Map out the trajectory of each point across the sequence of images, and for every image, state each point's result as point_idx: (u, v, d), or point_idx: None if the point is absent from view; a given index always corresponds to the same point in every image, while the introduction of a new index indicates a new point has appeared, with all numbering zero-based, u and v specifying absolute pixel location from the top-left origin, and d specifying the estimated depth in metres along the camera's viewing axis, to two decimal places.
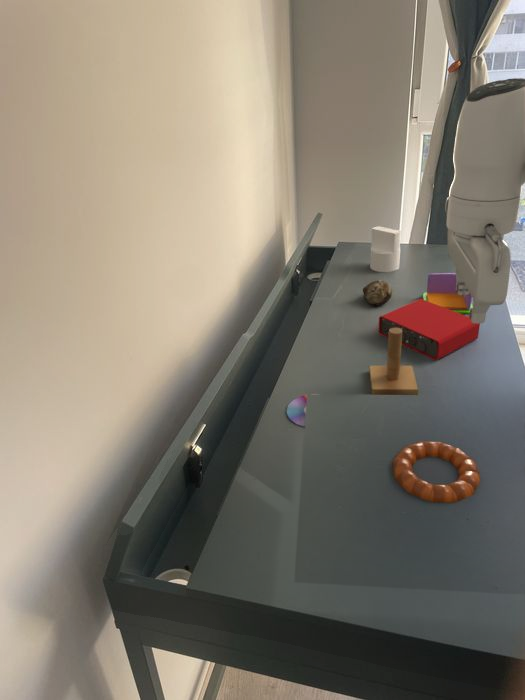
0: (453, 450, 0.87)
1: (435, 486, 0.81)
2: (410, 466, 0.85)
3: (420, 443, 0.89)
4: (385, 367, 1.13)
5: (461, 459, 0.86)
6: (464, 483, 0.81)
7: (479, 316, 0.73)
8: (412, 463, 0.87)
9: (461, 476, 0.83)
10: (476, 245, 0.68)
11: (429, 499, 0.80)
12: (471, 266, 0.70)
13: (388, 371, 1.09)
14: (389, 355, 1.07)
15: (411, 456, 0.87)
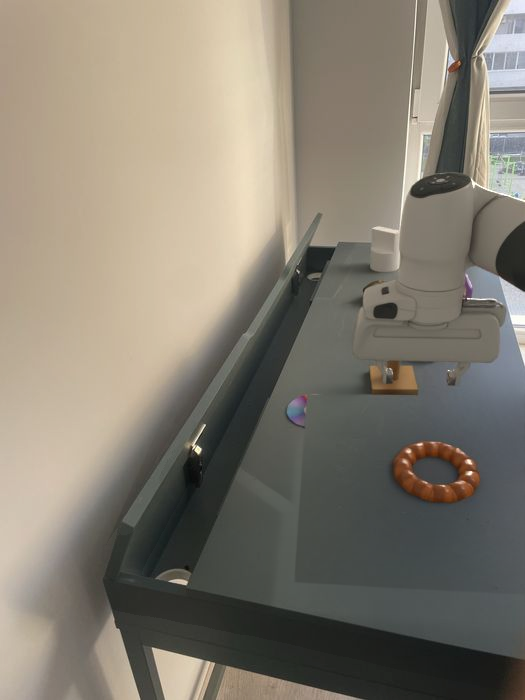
0: (453, 450, 0.87)
1: (435, 486, 0.81)
2: (410, 466, 0.85)
3: (420, 443, 0.89)
4: None
5: (461, 459, 0.86)
6: (464, 483, 0.81)
7: None
8: (412, 463, 0.87)
9: (461, 476, 0.83)
10: (475, 319, 0.71)
11: (429, 499, 0.80)
12: (463, 340, 0.73)
13: None
14: None
15: (411, 456, 0.87)
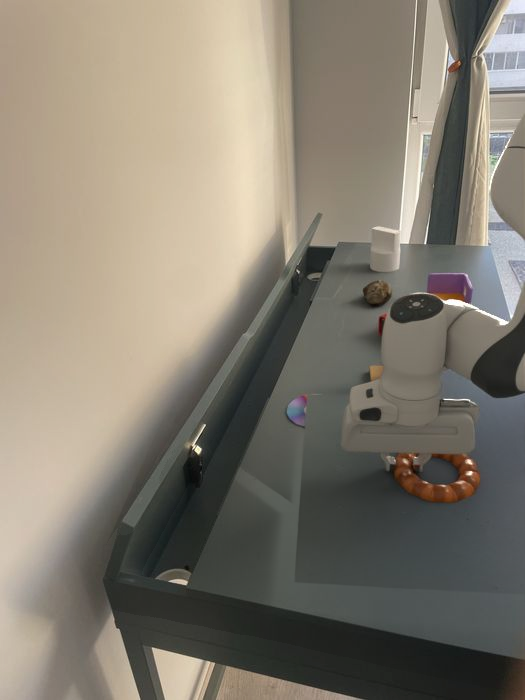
0: None
1: (435, 486, 0.81)
2: (410, 466, 0.85)
3: None
4: None
5: (461, 459, 0.85)
6: (464, 483, 0.81)
7: None
8: None
9: (461, 476, 0.83)
10: (452, 419, 0.78)
11: (429, 499, 0.80)
12: (442, 436, 0.80)
13: None
14: None
15: (411, 456, 0.87)
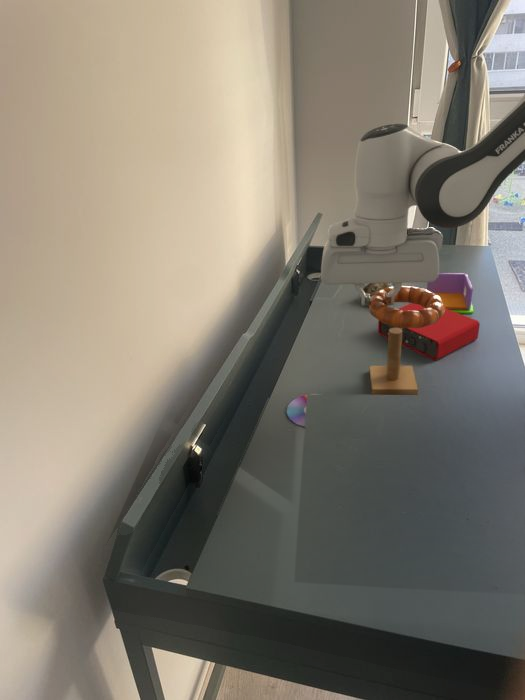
0: (422, 290, 0.97)
1: (405, 311, 0.91)
2: (383, 301, 0.95)
3: None
4: (385, 367, 1.13)
5: (429, 296, 0.95)
6: (430, 309, 0.91)
7: None
8: None
9: (428, 306, 0.93)
10: (418, 244, 0.88)
11: (399, 321, 0.90)
12: (410, 263, 0.89)
13: (388, 371, 1.09)
14: (389, 355, 1.07)
15: None
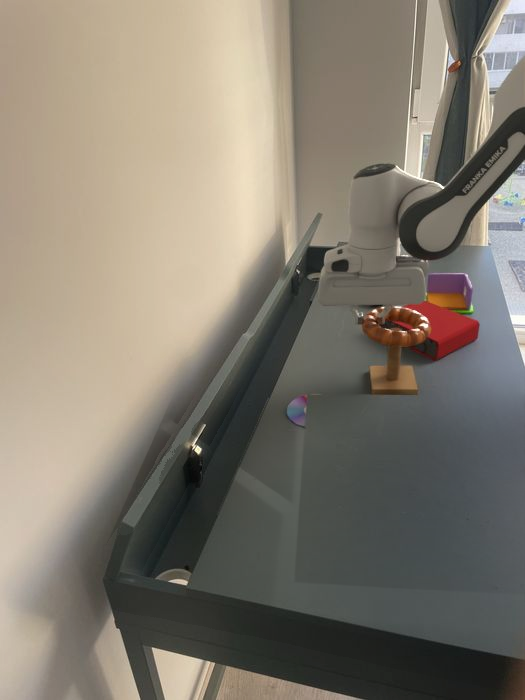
0: (411, 311, 1.06)
1: (394, 331, 0.99)
2: (375, 320, 1.04)
3: None
4: (385, 367, 1.13)
5: (417, 317, 1.04)
6: (417, 330, 0.99)
7: None
8: None
9: (416, 326, 1.01)
10: (406, 270, 0.96)
11: (389, 340, 0.99)
12: (399, 287, 0.98)
13: (388, 371, 1.09)
14: (389, 355, 1.07)
15: None
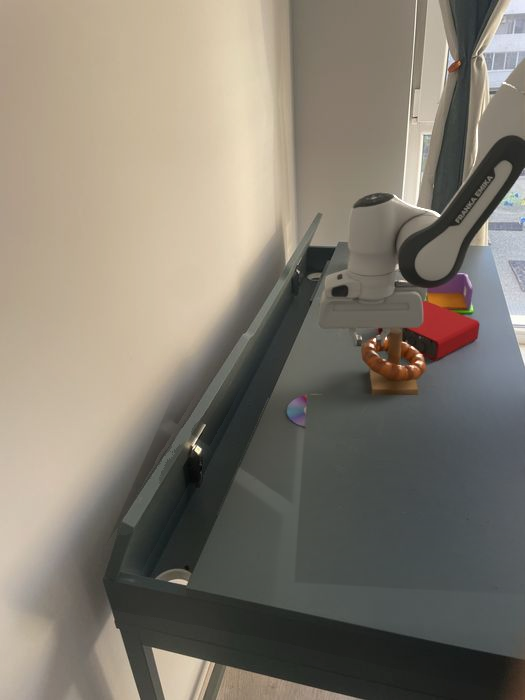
0: (409, 346, 1.10)
1: (393, 364, 1.03)
2: (375, 350, 1.07)
3: None
4: None
5: (414, 353, 1.08)
6: (415, 367, 1.04)
7: None
8: (376, 349, 1.09)
9: (413, 363, 1.05)
10: (404, 295, 0.99)
11: (387, 372, 1.02)
12: (397, 311, 1.00)
13: None
14: (389, 355, 1.07)
15: None
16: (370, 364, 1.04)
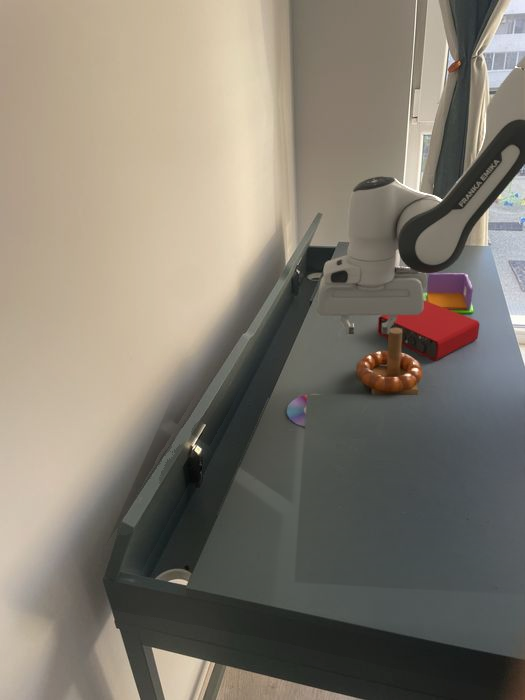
0: (404, 355, 1.11)
1: (386, 377, 1.05)
2: (369, 366, 1.09)
3: (378, 351, 1.13)
4: (385, 367, 1.13)
5: (409, 361, 1.10)
6: (409, 375, 1.05)
7: None
8: (371, 365, 1.11)
9: (407, 371, 1.07)
10: (404, 282, 0.97)
11: (381, 386, 1.04)
12: (397, 298, 0.99)
13: (388, 371, 1.09)
14: (389, 355, 1.07)
15: (370, 360, 1.11)
16: (365, 382, 1.06)
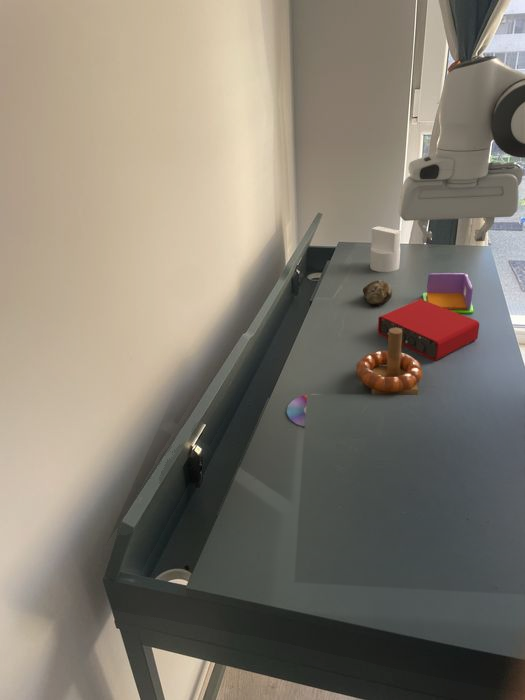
0: (404, 355, 1.11)
1: (386, 377, 1.05)
2: (369, 366, 1.09)
3: (378, 351, 1.13)
4: (385, 367, 1.13)
5: (409, 361, 1.10)
6: (409, 375, 1.05)
7: None
8: (371, 365, 1.11)
9: (407, 371, 1.07)
10: (499, 177, 0.90)
11: (381, 386, 1.04)
12: (490, 197, 0.92)
13: (388, 371, 1.09)
14: (389, 355, 1.07)
15: (370, 360, 1.11)
16: (365, 382, 1.06)
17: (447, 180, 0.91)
